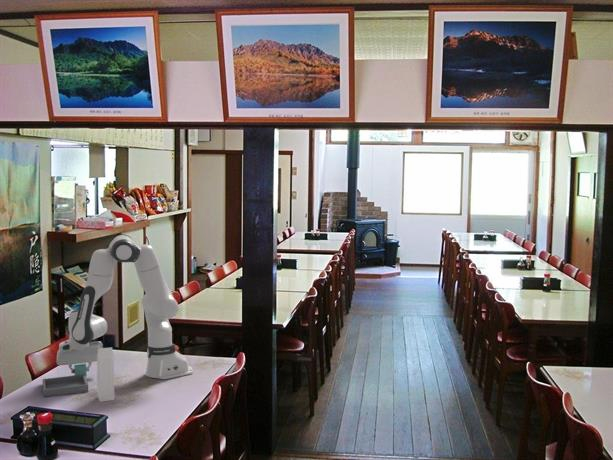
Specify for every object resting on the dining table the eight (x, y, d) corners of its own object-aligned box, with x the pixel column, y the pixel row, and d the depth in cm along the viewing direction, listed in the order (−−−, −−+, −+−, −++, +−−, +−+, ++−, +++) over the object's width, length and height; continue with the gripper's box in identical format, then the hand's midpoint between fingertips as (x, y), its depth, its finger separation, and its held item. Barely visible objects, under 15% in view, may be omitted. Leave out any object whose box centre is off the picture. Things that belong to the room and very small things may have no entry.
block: (85, 373, 292) (85, 362, 291) (86, 376, 287) (86, 365, 287) (74, 374, 290) (74, 364, 289) (75, 377, 285) (74, 367, 285)
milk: (97, 397, 263) (96, 347, 261) (112, 395, 266) (111, 345, 264) (99, 402, 258) (98, 350, 256) (114, 399, 260) (113, 348, 258)
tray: (84, 380, 284) (84, 374, 284) (88, 391, 270) (88, 384, 270) (42, 385, 277) (42, 379, 277) (43, 397, 262) (43, 390, 262)
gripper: (101, 339, 294) (102, 367, 296) (55, 343, 286) (57, 372, 287) (103, 342, 289) (104, 371, 290) (56, 347, 280) (57, 376, 282)
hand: (80, 372), depth 288 cm, fingers closed on block, 5 cm apart
